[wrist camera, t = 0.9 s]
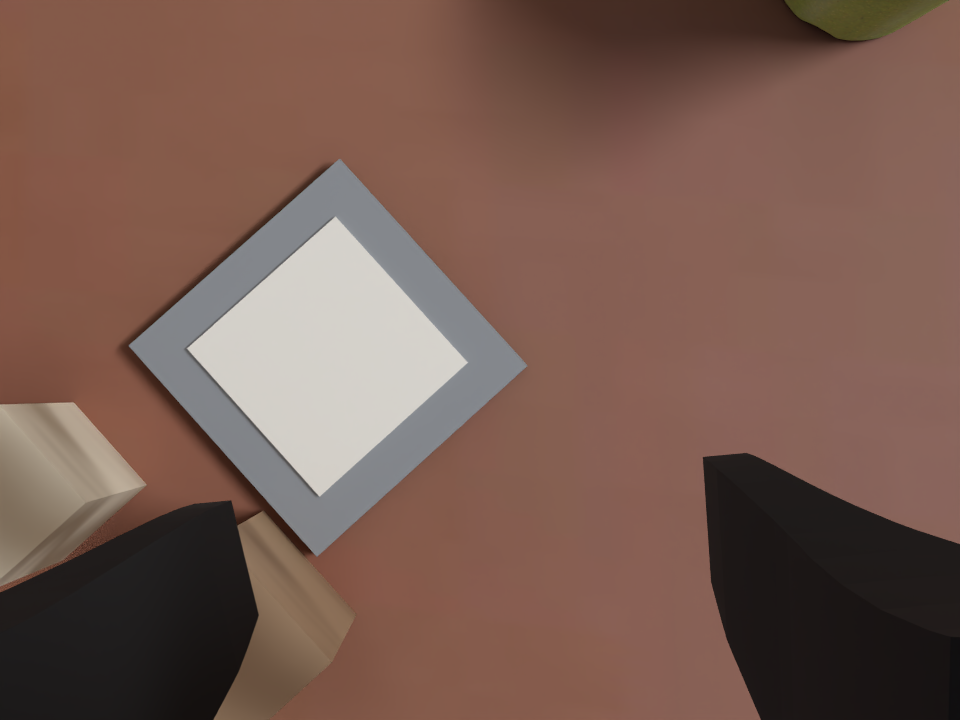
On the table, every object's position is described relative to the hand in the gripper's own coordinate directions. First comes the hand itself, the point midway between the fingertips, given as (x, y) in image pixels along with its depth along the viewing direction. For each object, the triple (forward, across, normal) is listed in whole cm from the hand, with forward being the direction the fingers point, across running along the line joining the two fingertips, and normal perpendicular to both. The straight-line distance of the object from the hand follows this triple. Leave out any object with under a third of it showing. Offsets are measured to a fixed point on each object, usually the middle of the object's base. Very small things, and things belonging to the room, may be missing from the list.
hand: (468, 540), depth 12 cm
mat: (+16, +7, +1) cm, 18 cm away
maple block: (+14, +16, +4) cm, 22 cm away
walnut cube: (+13, +10, +9) cm, 19 cm away
